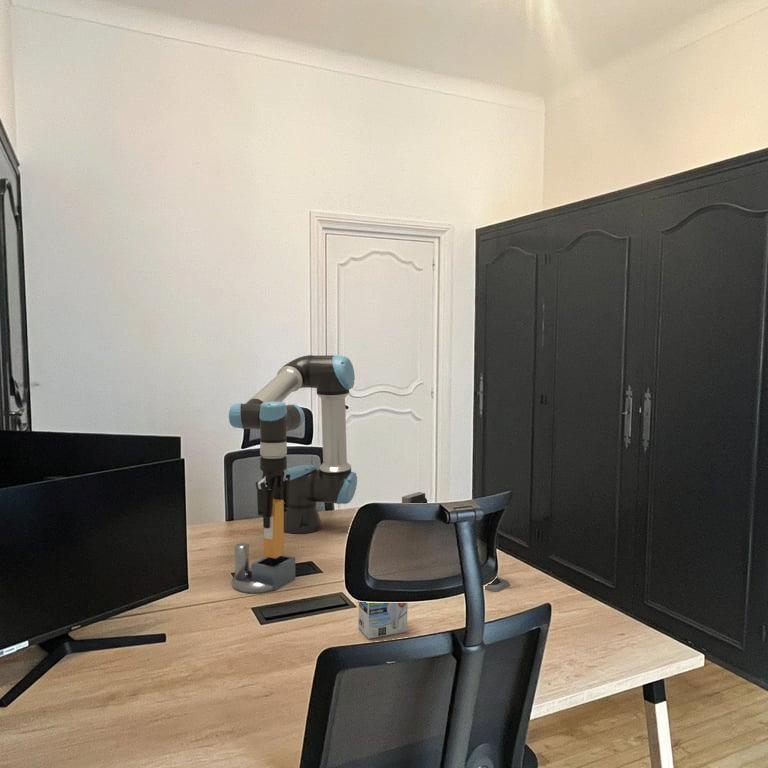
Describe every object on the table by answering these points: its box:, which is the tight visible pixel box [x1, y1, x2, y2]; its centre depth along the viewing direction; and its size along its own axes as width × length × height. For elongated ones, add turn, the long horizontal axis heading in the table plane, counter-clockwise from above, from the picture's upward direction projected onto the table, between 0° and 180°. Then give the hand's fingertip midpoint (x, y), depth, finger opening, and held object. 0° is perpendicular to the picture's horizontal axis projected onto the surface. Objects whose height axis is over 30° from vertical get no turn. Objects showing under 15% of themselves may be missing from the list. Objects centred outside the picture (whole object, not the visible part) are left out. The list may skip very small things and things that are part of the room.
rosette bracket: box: [231, 542, 296, 595], centre depth 183 cm, size 15×15×11 cm
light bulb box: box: [357, 601, 409, 640], centre depth 154 cm, size 11×7×11 cm, turn 115°
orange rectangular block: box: [263, 498, 285, 558], centre depth 182 cm, size 4×4×16 cm
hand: (273, 536), depth 183 cm, fingers closed on orange rectangular block, 4 cm apart
